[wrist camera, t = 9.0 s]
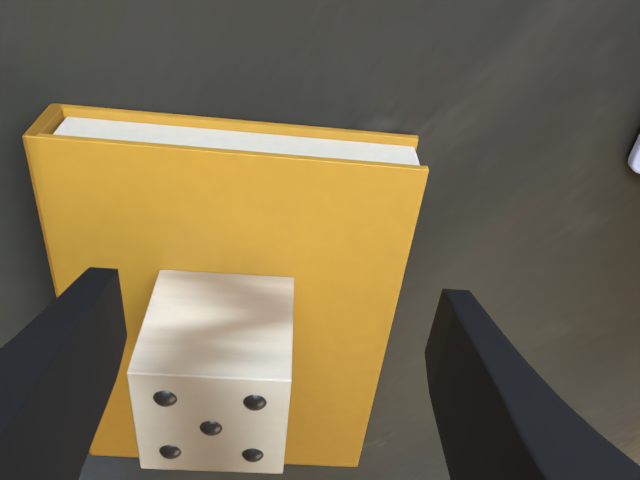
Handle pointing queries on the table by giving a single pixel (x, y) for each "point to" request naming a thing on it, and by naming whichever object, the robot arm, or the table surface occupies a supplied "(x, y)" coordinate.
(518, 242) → the table surface
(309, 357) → the book
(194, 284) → the die
